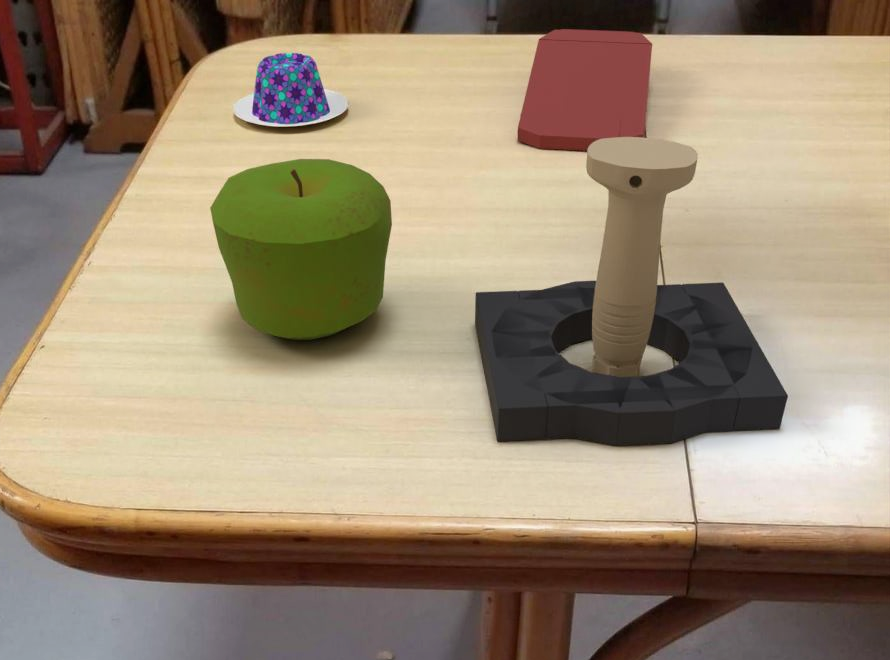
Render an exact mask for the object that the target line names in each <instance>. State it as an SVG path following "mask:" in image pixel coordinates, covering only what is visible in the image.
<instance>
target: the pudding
mask: <svg viewBox="0 0 890 660" xmlns="http://www.w3.org/2000/svg"><path fill="white" fill-rule="evenodd" d="M254 81H255V82H254V90H253V92H251V93H249V94H247V95H244V96H243V97H241V98H240V99H238V100H237V101H236V102H235V103H234V105H232V108H233V109H232V111H233V114H234V115H235V116H236V117H237V118H239V119H241V120H243V121H245V122H248V123H252V124H256V125H260V126H264V127H265V126H266V127H277V128H278V127H281V128H283V127H284V128H285V127H286V128H288V127H301V126H309V125H315V124H319V123H323V122H327V121H328V120H331V119H333V118H336V117H338V116H340V115H341V114H344V112H346V110H347V109H348V107H349V100H348V99H347V97H345V96H344V95H343V94H341V93H340V92H337V91H335V90H331V89H327V88H324V85H323V82H322V79H321V76H320V72H319V69H318V66H317V63H316V61H315V59H314V58H313V57H312V56H311V55H307V54H303V53H301V52H300V53H298V52H291V53H288V52H280V53H276V54H273V55H268V56H265V57H264V58H263V59H262V60H260V62H259V63H258V65H257V68H256V74H255V80H254Z"/></svg>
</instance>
